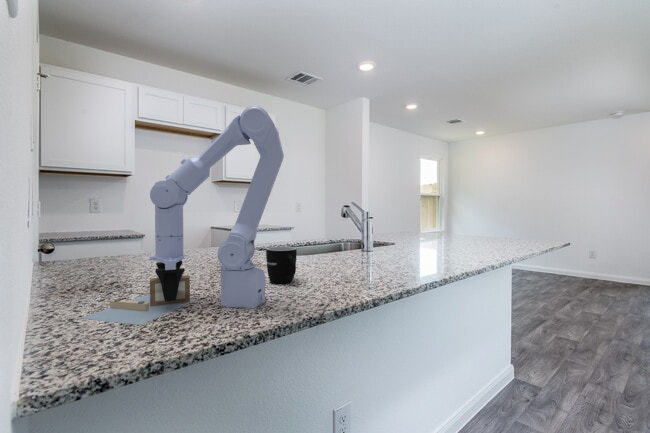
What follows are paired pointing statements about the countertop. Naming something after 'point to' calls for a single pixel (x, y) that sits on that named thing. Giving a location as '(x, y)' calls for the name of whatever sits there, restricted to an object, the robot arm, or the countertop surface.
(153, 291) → the brown square box
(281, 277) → the mug
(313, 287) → the countertop surface
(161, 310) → the blue flat mat
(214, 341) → the countertop surface
